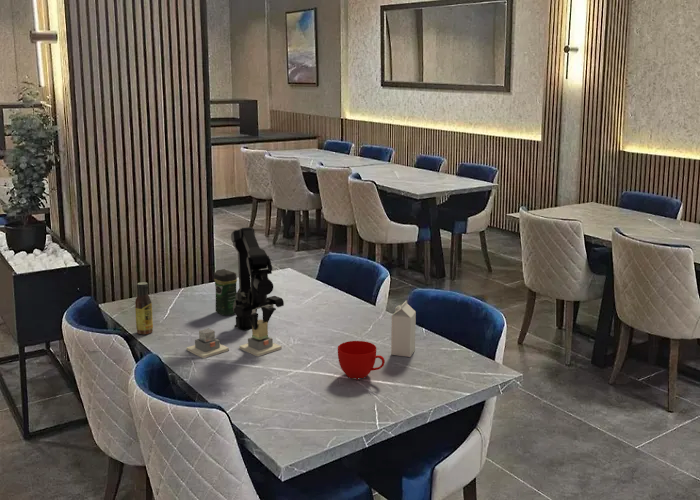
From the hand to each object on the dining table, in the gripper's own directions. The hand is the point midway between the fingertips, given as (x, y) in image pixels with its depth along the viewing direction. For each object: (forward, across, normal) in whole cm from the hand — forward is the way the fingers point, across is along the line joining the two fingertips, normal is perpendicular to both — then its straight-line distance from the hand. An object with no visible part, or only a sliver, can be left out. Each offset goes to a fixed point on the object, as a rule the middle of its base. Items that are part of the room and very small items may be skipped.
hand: (259, 328), depth 273 cm
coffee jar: (+8, -15, -43) cm, 46 cm away
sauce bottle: (+8, +22, -45) cm, 51 cm away
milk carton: (+8, -35, +39) cm, 53 cm away
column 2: (+3, 0, 0) cm, 3 cm away
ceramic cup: (+8, -9, +44) cm, 46 cm away
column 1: (+6, +15, -12) cm, 20 cm away
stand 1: (+8, +15, -12) cm, 21 cm away
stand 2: (+8, 0, 0) cm, 8 cm away
